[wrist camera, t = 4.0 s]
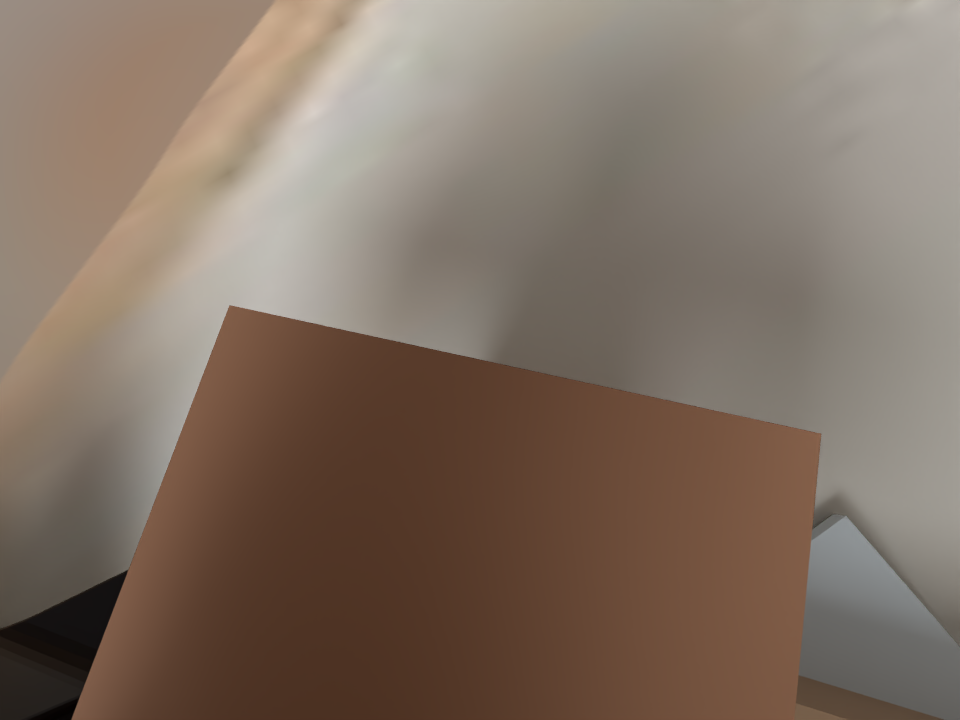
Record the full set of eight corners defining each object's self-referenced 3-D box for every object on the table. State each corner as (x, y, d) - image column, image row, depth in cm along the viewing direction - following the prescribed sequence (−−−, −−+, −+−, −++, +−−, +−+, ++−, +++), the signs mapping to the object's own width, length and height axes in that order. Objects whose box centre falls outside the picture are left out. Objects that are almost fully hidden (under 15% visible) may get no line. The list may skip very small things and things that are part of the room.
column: (599, 461, 15) (820, 433, 3) (569, 618, 14) (729, 1398, 2) (459, 427, 16) (230, 306, 4) (421, 572, 15) (-22, 961, 3)
